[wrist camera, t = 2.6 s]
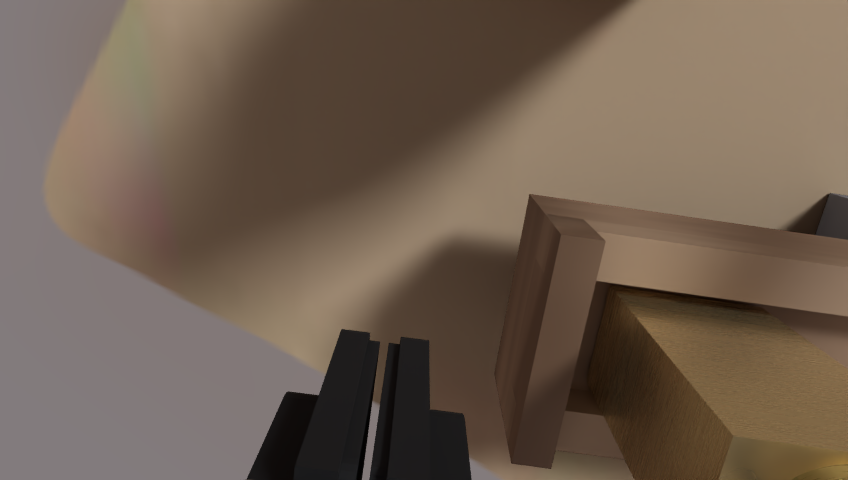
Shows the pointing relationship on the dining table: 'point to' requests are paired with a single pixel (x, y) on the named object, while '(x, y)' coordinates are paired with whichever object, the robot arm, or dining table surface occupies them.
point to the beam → (650, 271)
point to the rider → (716, 391)
